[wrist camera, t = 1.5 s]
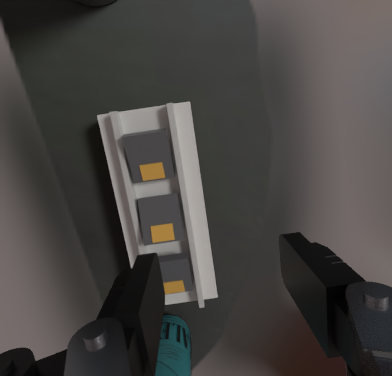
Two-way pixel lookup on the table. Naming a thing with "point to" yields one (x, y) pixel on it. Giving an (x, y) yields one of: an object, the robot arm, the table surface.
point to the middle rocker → (161, 219)
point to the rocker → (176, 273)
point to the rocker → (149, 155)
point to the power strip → (163, 191)
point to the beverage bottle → (174, 348)
